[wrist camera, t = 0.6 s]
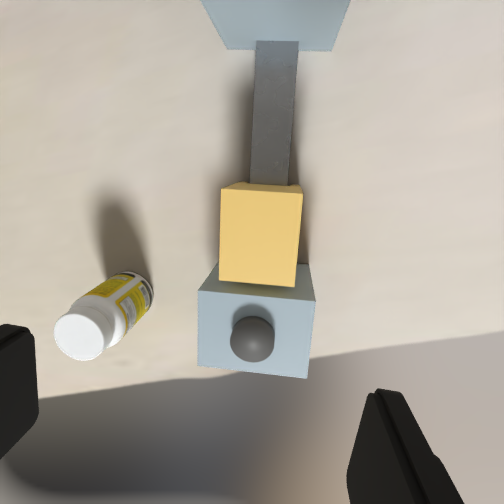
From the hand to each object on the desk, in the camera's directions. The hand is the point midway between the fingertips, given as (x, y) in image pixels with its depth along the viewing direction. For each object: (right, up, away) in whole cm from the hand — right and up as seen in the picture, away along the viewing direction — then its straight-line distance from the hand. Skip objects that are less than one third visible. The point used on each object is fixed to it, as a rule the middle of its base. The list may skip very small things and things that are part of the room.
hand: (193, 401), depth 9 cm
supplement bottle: (-10, 0, +23) cm, 25 cm away
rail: (+3, +11, +18) cm, 22 cm away
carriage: (+3, +7, +19) cm, 21 cm away
